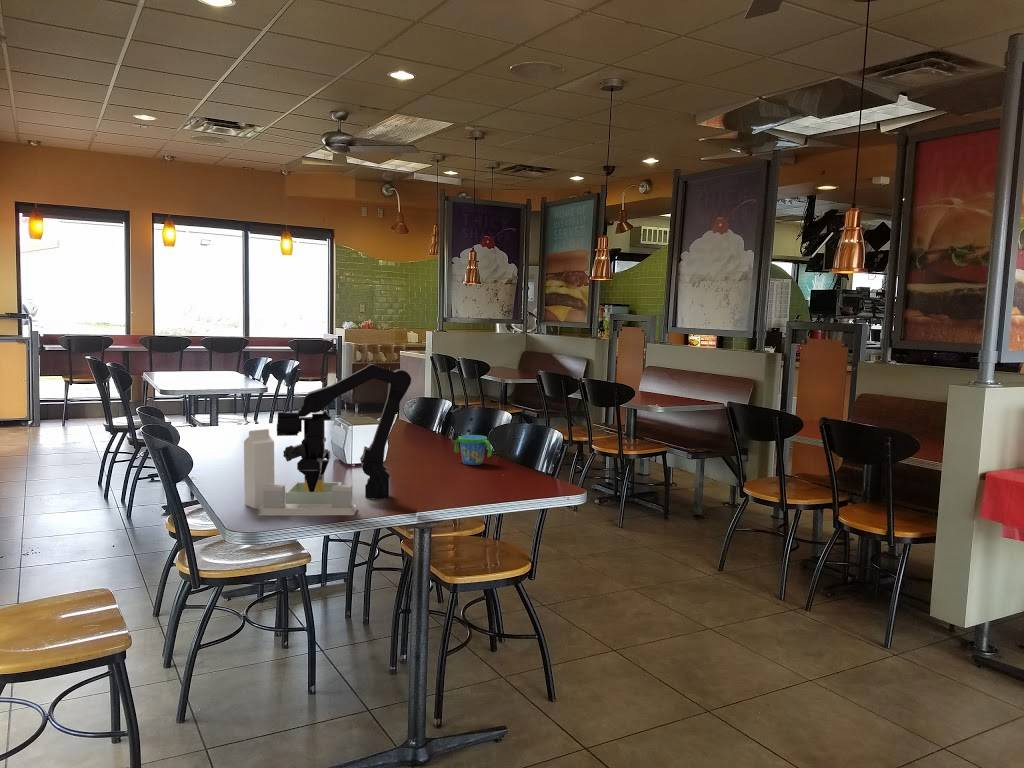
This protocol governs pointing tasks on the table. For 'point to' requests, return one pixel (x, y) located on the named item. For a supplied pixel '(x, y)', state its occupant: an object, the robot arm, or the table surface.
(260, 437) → the milk
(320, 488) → the block
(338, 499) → the block
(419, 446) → the table surface
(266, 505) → the block
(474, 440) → the snack cup
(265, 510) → the fuse holder
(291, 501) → the green tray
